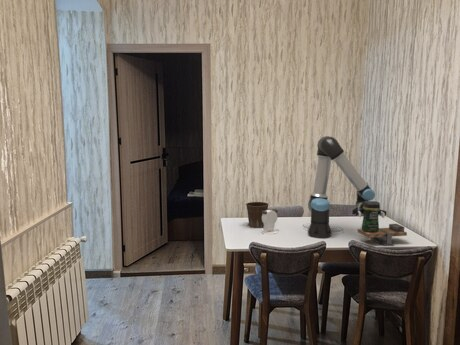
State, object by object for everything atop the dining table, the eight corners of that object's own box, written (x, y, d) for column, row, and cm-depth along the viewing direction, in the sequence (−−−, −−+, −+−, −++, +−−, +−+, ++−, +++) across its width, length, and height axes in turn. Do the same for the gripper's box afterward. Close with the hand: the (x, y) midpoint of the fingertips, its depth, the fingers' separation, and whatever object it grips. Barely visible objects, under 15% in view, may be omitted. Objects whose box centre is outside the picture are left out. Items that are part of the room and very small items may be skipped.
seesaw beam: (367, 237, 230) (368, 229, 229) (357, 232, 241) (357, 224, 241) (406, 235, 235) (407, 227, 234) (394, 230, 246) (395, 222, 246)
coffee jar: (364, 232, 232) (366, 202, 230) (360, 229, 240) (361, 200, 238) (380, 232, 232) (382, 202, 230) (375, 229, 240) (376, 200, 238)
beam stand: (384, 246, 230) (385, 233, 229) (369, 238, 246) (370, 226, 245) (393, 245, 231) (394, 233, 230) (378, 238, 247) (378, 226, 246)
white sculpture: (270, 228, 270) (270, 207, 268) (281, 232, 261) (282, 210, 259) (257, 231, 262) (257, 209, 261) (268, 235, 253) (268, 212, 252)
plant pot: (248, 229, 268) (248, 206, 266) (243, 223, 284) (243, 202, 282) (271, 228, 271) (271, 205, 269) (264, 222, 287) (265, 201, 285)
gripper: (384, 214, 251) (393, 222, 230) (345, 213, 255) (350, 220, 234) (385, 203, 250) (394, 210, 229) (345, 202, 254) (350, 208, 233)
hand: (372, 215), depth 232 cm, fingers open, 13 cm apart
